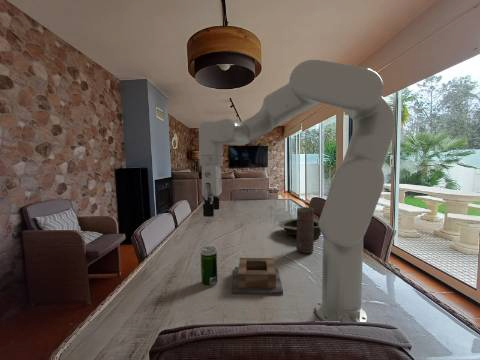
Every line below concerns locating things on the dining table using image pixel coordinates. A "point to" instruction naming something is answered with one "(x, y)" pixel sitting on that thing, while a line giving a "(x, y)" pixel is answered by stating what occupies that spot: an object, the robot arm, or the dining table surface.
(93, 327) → the dining table surface
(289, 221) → the stone bowl
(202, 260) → the beer can
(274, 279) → the well block
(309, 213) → the brown cylinder
